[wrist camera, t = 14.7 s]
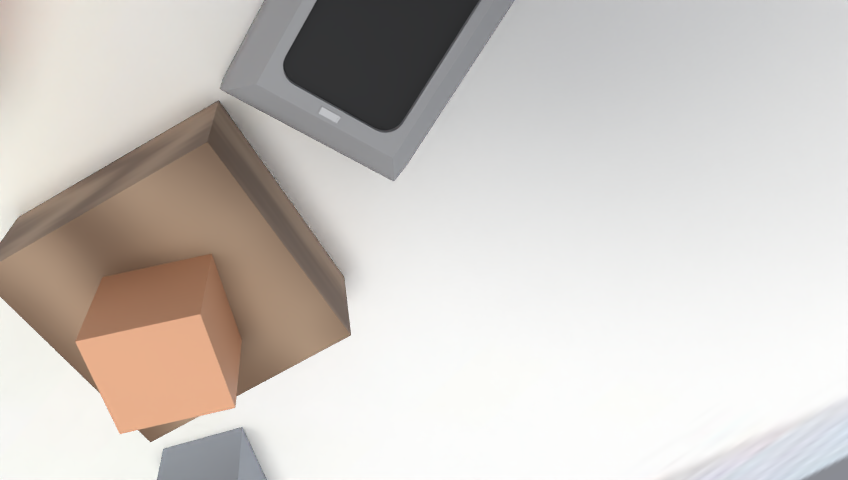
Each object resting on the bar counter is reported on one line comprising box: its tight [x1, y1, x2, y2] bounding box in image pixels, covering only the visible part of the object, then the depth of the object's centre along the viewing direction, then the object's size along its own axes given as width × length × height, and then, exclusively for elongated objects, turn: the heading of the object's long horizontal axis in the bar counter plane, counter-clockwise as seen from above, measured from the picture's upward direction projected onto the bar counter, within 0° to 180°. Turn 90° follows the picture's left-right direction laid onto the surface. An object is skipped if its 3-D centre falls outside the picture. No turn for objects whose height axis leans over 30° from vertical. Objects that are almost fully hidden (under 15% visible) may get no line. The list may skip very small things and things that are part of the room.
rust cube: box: [75, 254, 242, 434], centre depth 34 cm, size 5×5×5 cm
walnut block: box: [0, 101, 351, 442], centre depth 38 cm, size 12×12×6 cm
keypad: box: [220, 0, 514, 181], centre depth 35 cm, size 10×4×15 cm
